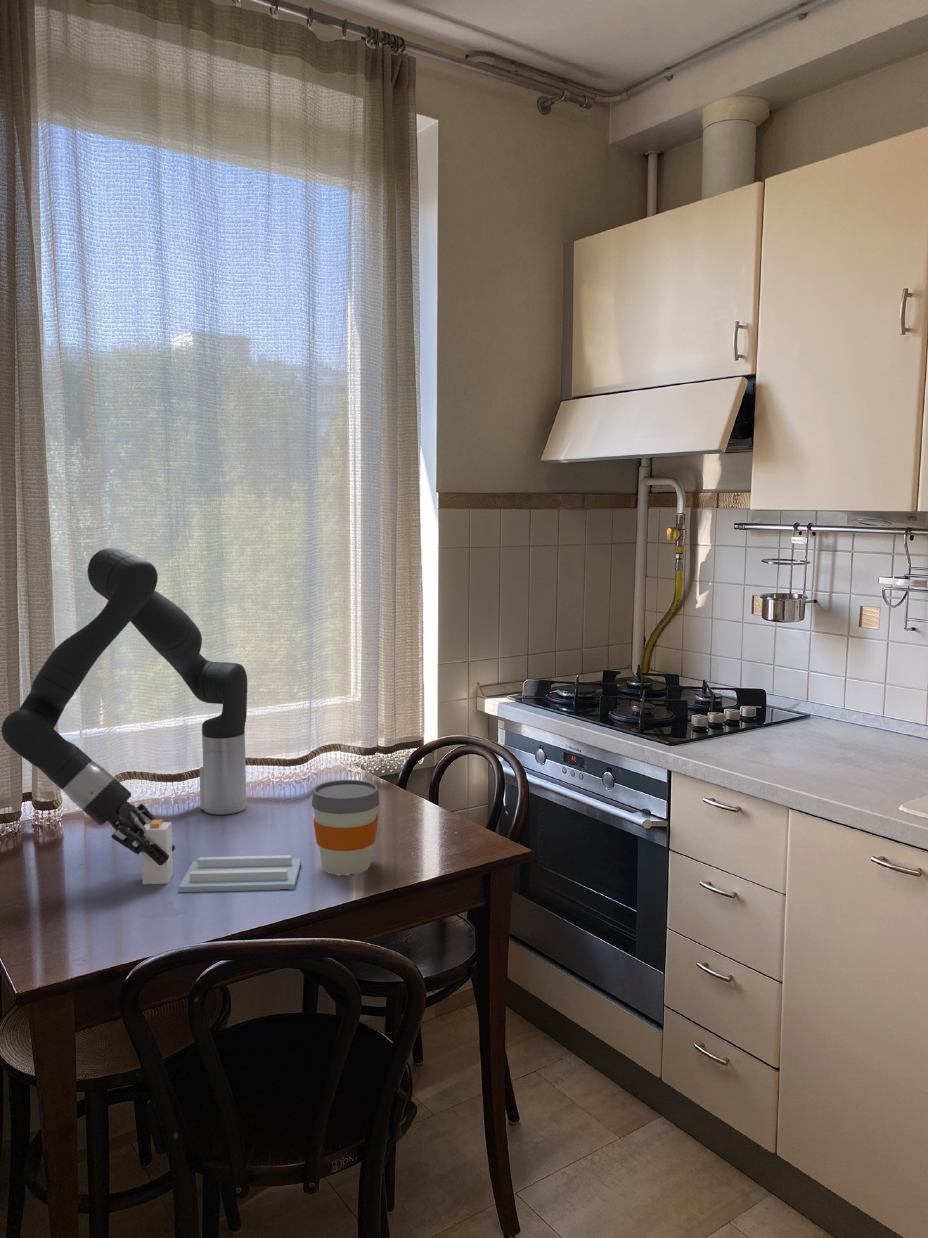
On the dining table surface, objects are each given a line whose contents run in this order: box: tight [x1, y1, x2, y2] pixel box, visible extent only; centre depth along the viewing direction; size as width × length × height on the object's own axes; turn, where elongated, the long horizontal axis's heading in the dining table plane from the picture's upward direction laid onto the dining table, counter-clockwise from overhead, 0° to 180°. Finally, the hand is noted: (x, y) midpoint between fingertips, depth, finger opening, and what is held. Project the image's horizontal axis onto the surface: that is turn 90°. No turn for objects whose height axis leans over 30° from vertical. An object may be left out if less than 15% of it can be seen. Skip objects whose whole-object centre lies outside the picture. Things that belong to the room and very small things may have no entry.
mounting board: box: [178, 854, 302, 893], centre depth 167 cm, size 20×12×2 cm, turn 95°
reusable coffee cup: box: [311, 779, 380, 876], centre depth 172 cm, size 12×13×15 cm
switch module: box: [141, 819, 174, 885], centre depth 166 cm, size 4×4×11 cm
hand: (168, 856), depth 166 cm, fingers closed on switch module, 4 cm apart
